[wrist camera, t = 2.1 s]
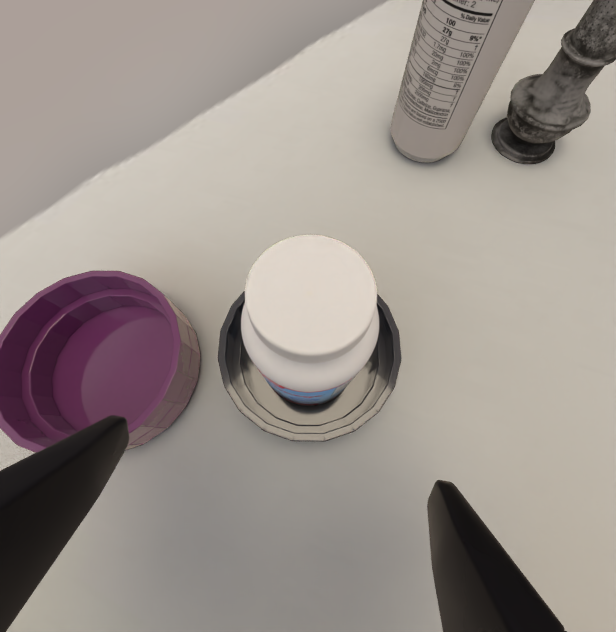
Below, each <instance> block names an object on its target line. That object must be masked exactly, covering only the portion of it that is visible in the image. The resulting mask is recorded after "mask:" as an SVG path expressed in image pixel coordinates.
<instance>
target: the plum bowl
mask: <svg viewBox="0 0 616 632" xmlns="http://www.w3.org/2000/svg"><path fill="white" fill-rule="evenodd" d="M200 358H201V356H200V350H199V345H198V341H197V336H196V333H195V331H194V329H193V328H192V326H191V324H190V323H189V321H188V320H187V318H186V316H185V315H184V314H183V313H182V312H181V311H180V310H179V309H178V308H177V307H176V306H175V305H174V304H173V303H172V302H171V301H170V300H169V299H168V298H167V297H166V296H165V295H164V294H163V293H162V292H160V291H159V290H158V289H156V288H155V287H154V286H152V285H151V284H150V283H148V282H147V281H146V280H144V279H143V278H140V277H136V276H133V275H130V274H127V273H124V272H121V271H89V272H85V273H82V274H78V275H74V276H70V277H67V278H64V279H62V280H60V281H58V282H56V283H54V284H53V285H51V286H49V287H47V288H45V289H43V290H42V291H40V292H38V293H37V294H36V295H34V296H33V297H32V298H31V299H30V300H29V301H28V302H27V303H26V304H25V305H23V306H22V307H21V308H20V309H19V310H18V311H17V312H16V313H15V314H14V315H13V317H12V318H11V320H10V321H9V323H8V324H7V325H6V327H5V328H4V330H3V331H2V333H1V334H0V428H1V429H2V430H3V431H4V432H5V433H6V434H7V435H8V436H9V437H10V439H11V440H12V441H13V442H14V443H15V444H17V445H18V446H21V447H23V448H26V449H28V450H31V451H33V452H36V453H37V452H39V451H41V450H43V449H45V448H47V447H49V446H51V445H53V444H55V443H56V442H58V441H60V440H62V439H64V438H66V437H68V436H70V435H72V434H74V433H76V432H78V431H80V430H82V429H84V428H86V427H88V426H90V425H92V424H94V423H96V422H98V421H100V420H102V419H104V418H106V417H108V416H111V415H116V416H121V417H125V418H126V419H127V423H128V430H129V443H128V446H127V448H126V449H125V450H128V449H131V448H134V447H137V446H140V445H143V444H145V443H146V442H148V441H149V440H151V439H152V438H154V437H155V436H157V435H158V434H160V433H161V432H162V431H164V430H165V429H167V427H169V426H170V425H171V424H172V423H173V421H174V420H175V419H176V418H177V417H178V416H179V414H180V413H181V412H182V411H183V410H184V408H185V407H186V405H187V404H188V401H189V399H190V397H191V395H192V392H193V390H194V388H195V386H196V383H197V380H198V375H199V366H200Z"/></svg>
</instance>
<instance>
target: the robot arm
mask: <svg viewBox="0 0 616 632" xmlns="http://www.w3.org/2000/svg"><path fill="white" fill-rule="evenodd" d="M128 443H129V430H128V423H127V419H126V418H125V417H121V416H116V415H111V416H108V417H106V418H104V419H102V420H100V421H98V422H96V423H94V424H92V425H90V426H88V427H86V428H84V429H82V430H80V431H78V432H76V433H74V434H72V435H70V436H68V437H66V438H64V439H62V440H60V441H58V442H56V443H55V444H53V445H51V446H49V447H47V448H45V449H43V450H41V451H39V452H37V453H35V454H33V455H31V456H29V457H27V458H25V459H23V460H21V461H19V462H17V463H15V464H13V465H11V466H9V467H7V468H5V469H3V470H1V471H0V632H6V631H7V629H8V628H9V626H10V625H11V624H12V622H13V621H14V619H15V618H16V616H17V615H18V613H19V612H20V610H21V609H22V608H23V606H24V605H25V603H26V602H27V600H28V599H29V597H30V596H31V595H32V593H33V592H34V590H35V589H36V587H37V586H38V584H39V583H40V581H41V580H42V579H43V577H44V576H45V574H46V573H47V571H48V570H49V568H50V567H51V566H52V564H53V563H54V561H55V560H56V558H57V557H58V555H59V554H60V552H61V551H62V550H63V548H64V547H65V545H66V544H67V542H68V541H69V539H70V538H71V537H72V535H73V534H74V532H75V531H76V529H77V528H78V526H79V525H80V523H81V522H82V521H83V519H84V518H85V516H86V515H87V513H88V512H89V510H90V509H91V508H92V506H93V505H94V503H95V502H96V500H97V499H98V497H99V495H100V494H101V492H102V490H103V489H104V487H105V485H106V483H107V482H108V480H109V478H110V476H111V474H112V473H113V471H114V469H115V467H116V466H117V464H118V462H119V460H120V458H121V457H122V455H123V453H124V451H125V449H126V448H127V446H128ZM427 508H428V521H429V534H430V547H431V560H432V570H433V576H434V582H435V588H436V594H437V599H438V605H439V611H440V616H441V622H442V627H443V632H567V631H564V627H563V625H562V624H561V623H560V621H559V620H558V619H557V617H556V616H555V615H554V614H553V612H552V611H551V610H550V608H549V607H548V606H547V604H546V603H545V602H544V601H543V599H542V598H541V597H540V595H539V594H538V593H537V591H536V590H535V589H534V588H533V586H532V585H531V584H530V582H529V581H528V580H527V578H526V577H525V576H524V575H523V573H522V572H521V571H520V569H519V568H518V567H517V565H516V564H515V563H514V562H513V560H512V559H511V558H510V556H509V555H508V554H507V552H506V551H505V550H504V548H503V547H502V546H501V545H500V543H499V542H498V541H497V539H496V538H495V537H494V535H493V534H492V533H491V532H490V530H489V529H488V528H487V526H486V525H485V524H484V522H483V521H482V520H481V519H480V517H479V516H478V515H477V513H476V512H475V511H474V509H473V508H472V507H471V506H470V504H469V503H468V502H467V500H466V499H465V498H464V496H463V495H462V494H461V493H460V491H459V490H458V489H457V487H456V486H455V485H454V484H453V483H451V482H447V481H442V480H437V481H436V482H435V484H434V487H433V489H432V491H431V494H430V496H429V499H428V505H427Z"/></svg>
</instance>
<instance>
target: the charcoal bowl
mask: <svg viewBox="0 0 616 632" xmlns="http://www.w3.org/2000/svg"><path fill="white" fill-rule="evenodd" d="M244 303H245V291H244V292H243V293H242V294H241V295H240V297H239V298H238V299H237V300H236V301H235V302H234V303H233V305H232V306H231V308H230V310H229V313H228V315H227V317H226V319H225V322H224V324H223V326H222V328H221V331H220V341H219V351H218V362H219V366H220V370H221V375H222V379H223V383H224V386H225V388H226V390H227V392H228V393H229V395H230V397H231V398H232V400H233V401H234V403H235V405H236V406H237V408H238V409H239V411H240V412H241V413H242V414H244V415H245V416H246V417H247V418H248V419H250V420H251V421H252V422H253V423H255V424H256V425H257V426H258V427H260V428H261V429H262V430H264V431H266V432H269V433H271V434H274V435H277V436H280V437H283V438H285V439H288V440H291V441H319V442H324V441H328V440H331V439H334V438H337V437H340V436H342V435H345V434H348V433H351V432H354V431H356V430H357V429H358V428H359V427H361V426H362V425H363V424H365V423H366V422H367V421H368V420H370V419H371V418H372V417H373V416H375V415H376V414H377V413H378V412H379V411H380V409H381V408H382V406H383V405H384V403H385V402H386V400H387V399H388V397H389V395H390V394H391V392H392V391H393V389H394V387H395V384H396V380H397V375H398V371H399V367H400V363H401V350H400V338H399V331H398V328H397V326H396V324H395V321H394V319H393V317H392V314H391V312H390V310H389V307H388V306H387V305H386V303H385V302H384V301H383V300H382V299H381V298H380V296H379V295H378V294H377V309H378V315H379V334H378V339H377V343H376V345H375V348H374V350H373V353H372V354H371V356H370V358H369V360H368V361H367V363H366V364H365V366H364V367H363V368H362V369H361V370H360V372H359V373H358V374H357V375H356V376H355V377H354V379H353V380H352V381H351V382H350V383H349V384H348V385H347V386H346V388H345V389H344V390H343V391H342V392H341V393H340V394H339V395H338V396H336V397H335V398H334V399H332V400H330V401H328V402H326V403H323V404H320V405H314V406H303V405H298V404H294V403H291V402H289V401H287V400H285V399H283V398H282V397H281V396H279V395H278V394H277V393H276V392H275V391H274V390H273V389H272V388H271V387H270V385H269V384H268V383H267V381H266V380H265V378H264V377H263V376H262V374H261V373H260V372H259V370H258V369H257V367H256V366H255V364H254V363H253V362H252V360H251V358H250V357H249V355H248V353H247V350H246V348H245V345H244V342H243V338H242V332H241V316H242V310H243V306H244Z"/></svg>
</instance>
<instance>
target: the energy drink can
mask: <svg viewBox="0 0 616 632" xmlns="http://www.w3.org/2000/svg"><path fill="white" fill-rule="evenodd" d="M534 1H535V0H423V2H422V6H421V10H420V14H419V18H418V21H417V25H416V29H415V33H414V37H413V41H412V45H411V48H410V52H409V56H408V60H407V64H406V68H405V72H404V75H403V79H402V83H401V87H400V91H399V95H398V99H397V102H396V106H395V110H394V114H393V118H392V122H391V127H390V129H391V135H392V138H393V140H394V142H395V145H396V147H397V149H398V150H399V151H400V152H401V153H402V154H403V155H404V156H406V157H407V158H409V159H411V160H414V161H417V162H435V161H438V160H440V159H442V158H444V157H445V156H447V155H449V154H451V153H453V152H454V151H455V150H456V149H457V148H458V147H459V146H460V144H461V142H462V140H463V139H464V137H465V135H466V133H467V131H468V129H469V127H470V125H471V123H472V121H473V119H474V117H475V115H476V113H477V111H478V109H479V108H480V106H481V104H482V102H483V100H484V98H485V96H486V94H487V92H488V90H489V88H490V86H491V84H492V82H493V80H494V78H495V77H496V75H497V73H498V71H499V69H500V67H501V65H502V63H503V61H504V59H505V57H506V55H507V53H508V51H509V49H510V47H511V45H512V44H513V42H514V40H515V38H516V36H517V34H518V32H519V30H520V28H521V26H522V24H523V22H524V20H525V18H526V16H527V14H528V13H529V11H530V9H531V7H532V5H533V3H534Z"/></svg>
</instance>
